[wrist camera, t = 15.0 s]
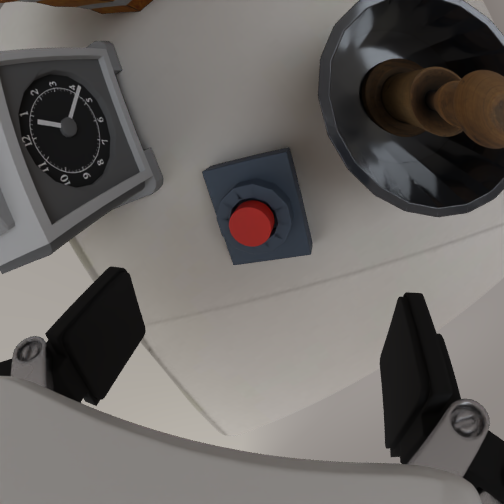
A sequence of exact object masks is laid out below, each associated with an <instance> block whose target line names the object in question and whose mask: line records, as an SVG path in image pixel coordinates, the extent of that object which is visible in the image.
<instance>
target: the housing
mask: <svg viewBox="0 0 504 504" xmlns="http://www.w3.org/2000/svg"><path fill="white" fill-rule="evenodd" d="M202 173H203V176H204V179H205V182H206V185H207V188H208V191H209V194H210V197H211V200H212V203H213V206H214V209H215V212H216V215H217V221H218V224H219V227H220V230H221V233H222V236H223V237H224V239H225V242H226V245H227V248H228V251H229V253H230V256H231V259H232V262H233V265H239V264H246V263H253V262H261V261H268V260H275V259H282V258H289V257H297V256H304V255H311V251H312V240H311V235H310V231H309V226H308V222H307V218H306V213H305V209H304V204H303V200H302V196H301V192H300V188H299V183H298V179H297V175H296V171H295V167H294V163H293V159H292V156H291V152H290V148H284V149H279V150H275V151H270V152H266V153H262V154H257V155H253V156H249V157H245V158H241V159H237V160H233V161H229V162H225V163H221V164H217V165H213V166H210V167H209V168H207V169H206V170H204V171H203V172H202ZM250 200H255V201H260V202H262V203H264V204H265V205H267V206H268V207H269V208H270V209H271V211H272V213H273V215H274V227H273V229H272V232H271V234H270V237H269V238H268V240H267V241H266V242H265V243H263V244H261V245H259V246H253V247H251V246H245V245H243V244H241V243H239V242H238V241H237V240H235V238H234V237H233V236H232V234H231V232H230V229H229V221H230V218H231V216H232V214H233V213H234V211H235V210H236V209H237V207H238V206H239V205H240V204H242V203H243V202H246V201H250Z"/></svg>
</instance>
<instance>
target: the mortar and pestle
mask: <svg viewBox="0 0 504 504" xmlns="http://www.w3.org/2000/svg"><path fill="white" fill-rule="evenodd" d="M362 101H363V105H364V107H365V110H366V112H367V114H368V115H369V117H370V118H371V120H372V121H373V122H374V123H375V124H376V125H377V126H379V127H380V128H381V129H383V130H385V131H387V132H389V133H391V134H393V135H396V136H401V137H412V136H416V135H419V134H421V133H423V132H425V131H428V132H430V133H432V134H435V135H438V136H444V137H448V136H454V135H457V134H459V133H461V132H462V131H464V132H465V134H466V135H467V136H468V137H469V138H470V139H471V140H473V141H474V142H476V143H477V144H479V145H481V146H484V147H487V148H492V149H499V148H504V77H503V76H502V75H500V74H498V73H496V72H493V71H489V70H477V71H473V72H471V73H469V74H467V75H465V76H464V77H463V78H462V79H461V78H460V77H459V76H458V75H457V74H455V73H454V72H452V71H451V70H448V69H446V68H442V67H429V68H423V67H421V66H420V65H418V64H417V63H415V62H413V61H410V60H407V59H401V58H395V59H389V60H386V61H383V62H381V63H379V64H377V65H375V66H374V67H373V68H372V69H371V70H370V71H369V72H368V73H367V75H366V77H365V79H364V81H363V84H362Z"/></svg>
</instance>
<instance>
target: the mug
mask: <svg viewBox="0 0 504 504" xmlns="http://www.w3.org/2000/svg"><path fill="white" fill-rule="evenodd" d="M14 1H23V2H37V3H41V4H46V5H50V6H55V7H80V8H86V9H91V10H93V11H96V12H98V13H101V14H106V13H118V12H136V11H141V10H142V9H143V8H144V7H145V6H147V5H148V4H149V3H150V2H151V1H153V0H0V3H5V2H14Z"/></svg>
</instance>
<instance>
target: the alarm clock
mask: <svg viewBox="0 0 504 504" xmlns="http://www.w3.org/2000/svg"><path fill="white" fill-rule="evenodd" d="M120 71H122V68H121V65H120V63H119V60H118V57H117V54H116V51H115V48H114V45H113V44H112V43H111V42H109V41H94V42H93V43H92V44H90V45H89V46H88V47H86V48H36V49H21V50H9V51H0V271H1V273H2V274H3V273H6V272H8V271H11V270H13V269H16V268H18V267H21V266H23V265H26V264H28V263H31V262H33V261H35V260H38V259H41V258H44V257H46V256H49V255H51V254H52V253H53V252H55V251H56V250H57V249H59V248H60V247H61V246H62V245H64V244H65V243H66V242H68V241H69V240H70V239H72V238H73V237H74V236H76V235H77V234H79V233H80V232H81V231H83V230H84V229H85V228H87V227H88V226H90V225H91V224H92V223H94V222H95V221H97V220H98V219H100V218H101V217H102V216H104V215H105V214H107V213H108V212H110V211H111V210H113V209H114V208H117V207H119V206H122V205H124V204H127V203H130V202H132V201H135V200H137V199H140V198H143V197H145V196H148V195H151V194H153V193H154V192H156V191H157V190H159V188H160V187H161V185H162V184H163V176H162V174H161V171H160V169H159V166H158V164H157V161H156V159H155V156H154V154H153V151H152V149H151V148H149V149H146V150H144V151H143V149H142V146H141V144H140V141H139V139H138V136H137V133H136V131H135V128H134V126H133V123H132V120H131V118H130V115H129V112H128V110H127V107H126V104H125V102H124V99H123V96H122V93H121V91H120V88H119V85H118V82H117V79H116V76H115V74H117V73H118V72H120Z"/></svg>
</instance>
